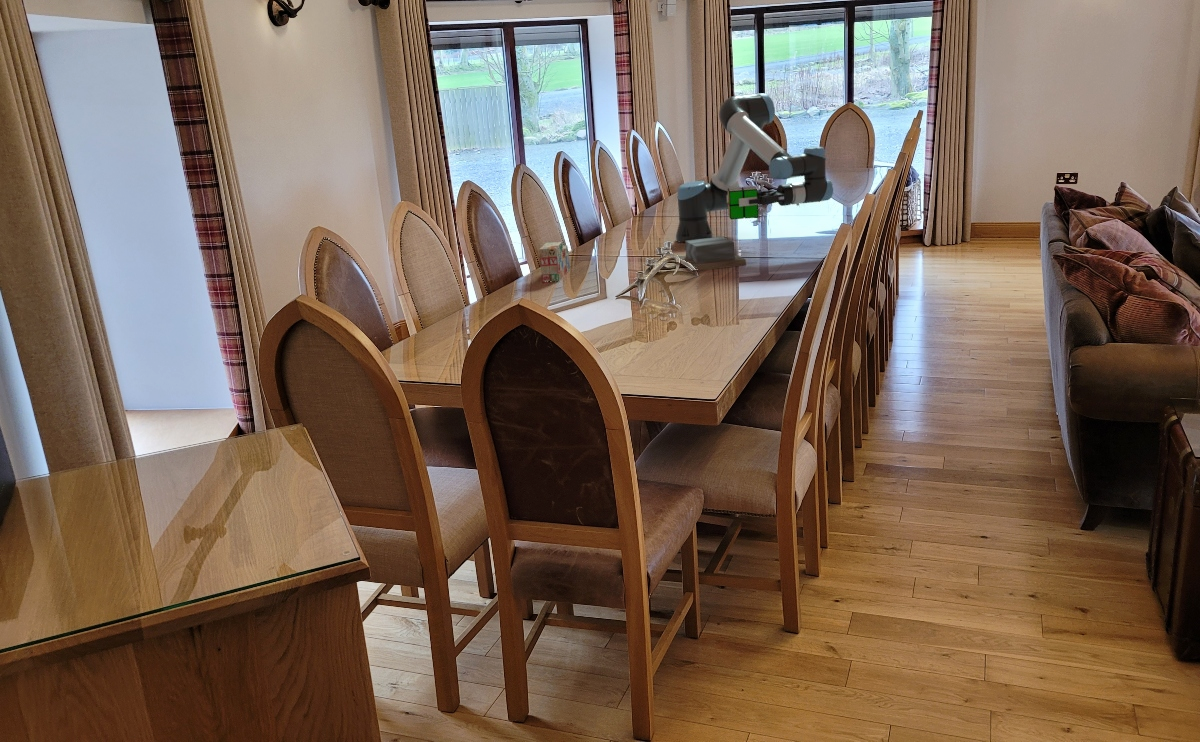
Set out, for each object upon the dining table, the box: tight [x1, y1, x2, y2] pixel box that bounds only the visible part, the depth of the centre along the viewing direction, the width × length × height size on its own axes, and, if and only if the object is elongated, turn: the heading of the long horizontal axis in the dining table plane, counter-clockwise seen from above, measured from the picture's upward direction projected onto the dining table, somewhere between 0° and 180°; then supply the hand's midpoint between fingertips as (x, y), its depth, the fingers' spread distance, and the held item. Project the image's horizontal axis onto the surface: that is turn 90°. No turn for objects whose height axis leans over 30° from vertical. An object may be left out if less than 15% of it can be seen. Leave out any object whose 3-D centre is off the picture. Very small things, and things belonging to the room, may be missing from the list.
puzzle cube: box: [727, 185, 759, 220], centre depth 333 cm, size 10×10×10 cm
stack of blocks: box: [538, 241, 571, 283], centre depth 337 cm, size 21×6×12 cm, turn 172°
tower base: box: [678, 236, 747, 271], centre depth 336 cm, size 20×20×8 cm
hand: (733, 200), depth 332 cm, fingers closed on puzzle cube, 12 cm apart
